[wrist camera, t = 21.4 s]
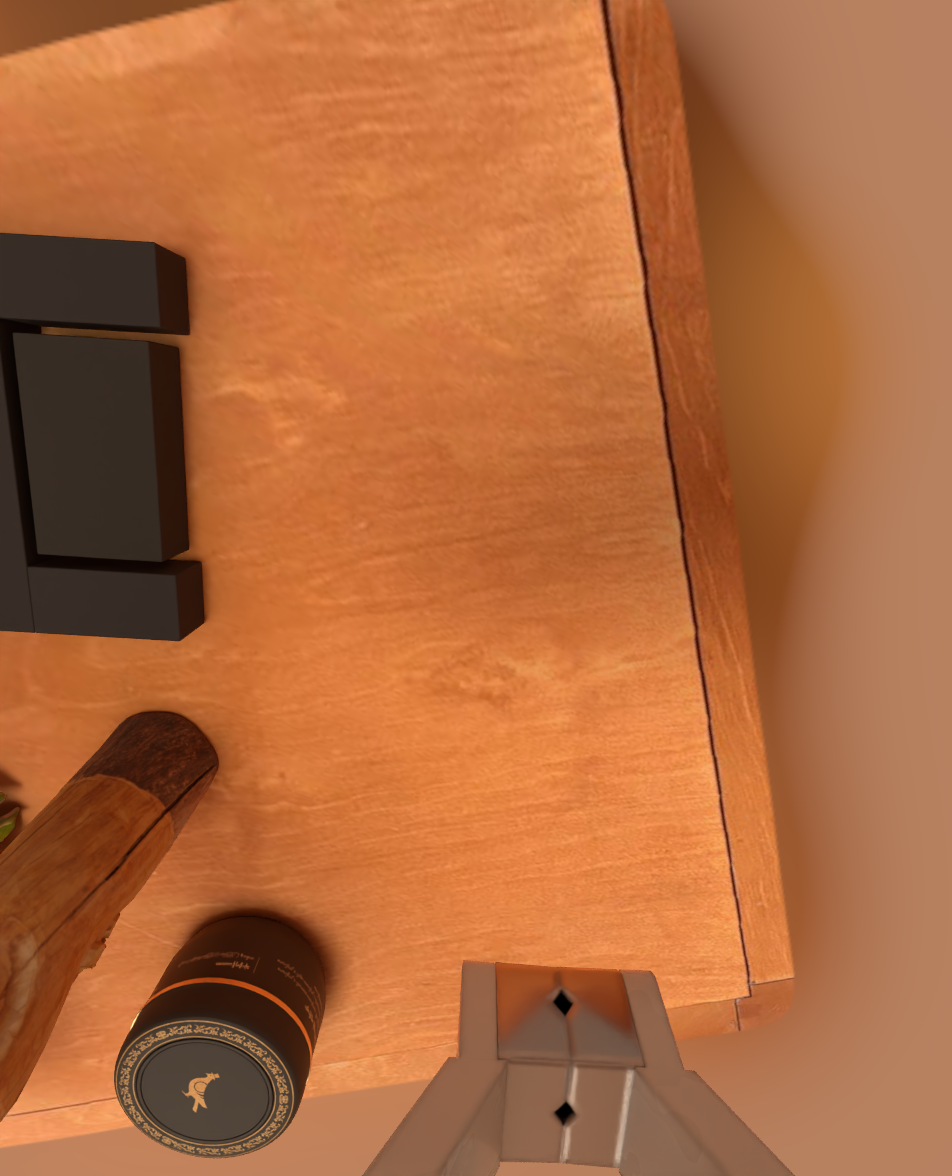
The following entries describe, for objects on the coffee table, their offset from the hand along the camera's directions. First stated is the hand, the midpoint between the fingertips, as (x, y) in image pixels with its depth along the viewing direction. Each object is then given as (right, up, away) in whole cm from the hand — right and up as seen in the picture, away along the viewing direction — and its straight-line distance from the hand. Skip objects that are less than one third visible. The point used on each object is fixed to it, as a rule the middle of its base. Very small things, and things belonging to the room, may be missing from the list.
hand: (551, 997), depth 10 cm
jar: (-15, -18, +31) cm, 39 cm away
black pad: (-19, +13, +23) cm, 32 cm away
